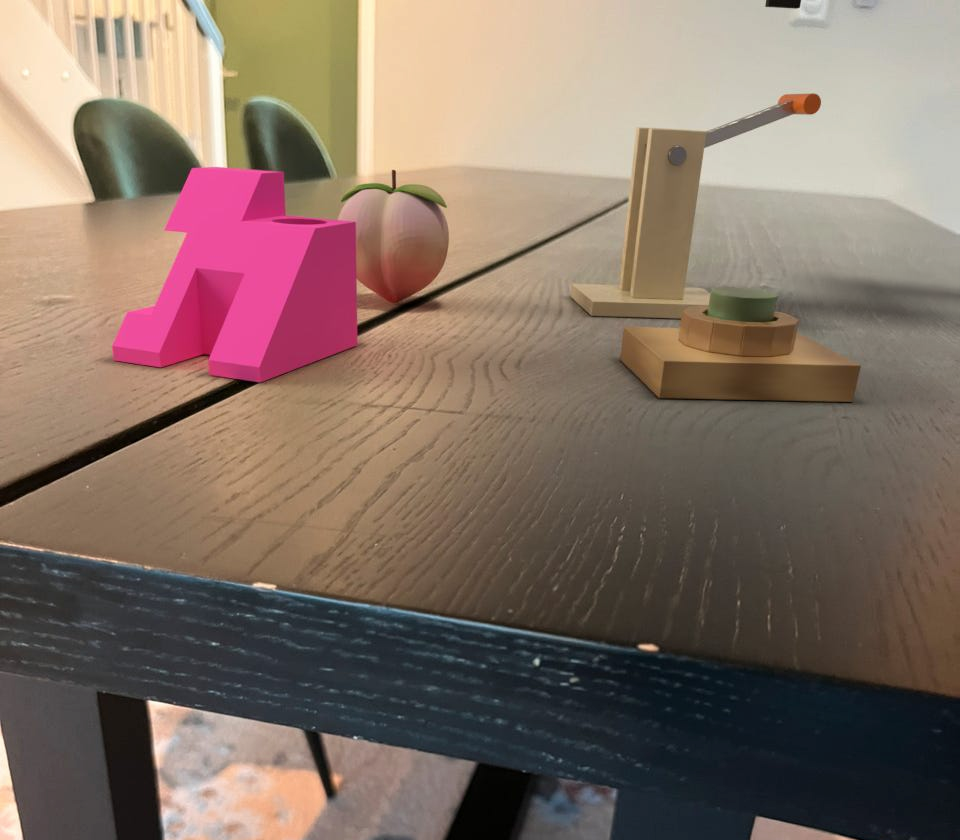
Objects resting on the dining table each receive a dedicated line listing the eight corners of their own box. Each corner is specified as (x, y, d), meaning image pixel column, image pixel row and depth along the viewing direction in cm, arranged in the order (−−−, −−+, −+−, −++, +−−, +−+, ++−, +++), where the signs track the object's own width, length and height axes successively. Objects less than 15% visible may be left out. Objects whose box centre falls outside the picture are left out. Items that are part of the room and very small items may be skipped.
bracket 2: (699, 301, 89) (724, 131, 83) (732, 320, 81) (762, 134, 75) (570, 297, 88) (585, 124, 81) (591, 316, 80) (609, 126, 73)
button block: (789, 363, 67) (801, 303, 65) (853, 402, 58) (868, 333, 57) (619, 359, 66) (626, 298, 64) (658, 398, 57) (668, 328, 55)
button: (758, 316, 62) (763, 287, 62) (782, 329, 59) (787, 298, 58) (698, 314, 62) (702, 286, 61) (718, 327, 58) (723, 296, 58)
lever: (796, 116, 81) (791, 85, 80) (823, 117, 76) (819, 83, 75) (646, 173, 82) (639, 143, 81) (663, 178, 77) (656, 145, 76)
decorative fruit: (461, 300, 84) (466, 171, 79) (434, 315, 77) (437, 175, 72) (358, 290, 86) (357, 164, 81) (322, 305, 79) (318, 167, 74)
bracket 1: (227, 327, 69) (215, 166, 64) (357, 345, 66) (354, 177, 61) (114, 360, 59) (89, 172, 54) (260, 382, 56) (247, 185, 51)
